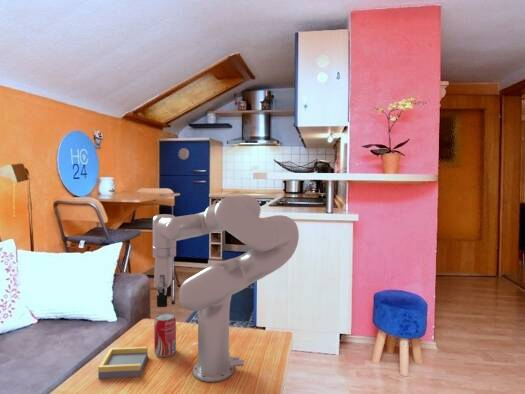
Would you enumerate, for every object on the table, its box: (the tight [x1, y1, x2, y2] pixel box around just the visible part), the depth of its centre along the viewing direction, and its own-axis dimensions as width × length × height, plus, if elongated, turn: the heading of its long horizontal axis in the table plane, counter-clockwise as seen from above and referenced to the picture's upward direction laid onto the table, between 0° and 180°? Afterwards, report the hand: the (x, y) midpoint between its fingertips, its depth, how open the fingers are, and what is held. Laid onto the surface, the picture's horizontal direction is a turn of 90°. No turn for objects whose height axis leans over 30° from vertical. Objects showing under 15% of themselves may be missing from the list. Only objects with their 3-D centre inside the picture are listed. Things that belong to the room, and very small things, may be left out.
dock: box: [97, 346, 149, 380], centre depth 118 cm, size 12×12×4 cm
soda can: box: [153, 312, 177, 358], centre depth 127 cm, size 7×7×13 cm
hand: (164, 301), depth 126 cm, fingers open, 9 cm apart
